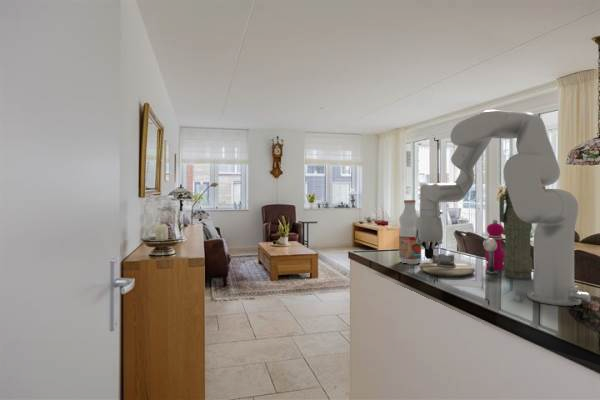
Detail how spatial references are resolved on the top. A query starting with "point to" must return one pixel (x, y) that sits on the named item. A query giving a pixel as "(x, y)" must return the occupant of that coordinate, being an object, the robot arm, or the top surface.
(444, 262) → the cover
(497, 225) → the pepper mill
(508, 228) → the thermos
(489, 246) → the globe topped trophy
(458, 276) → the turntable base
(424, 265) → the turntable
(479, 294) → the top surface
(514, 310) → the top surface
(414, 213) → the fruit juice
